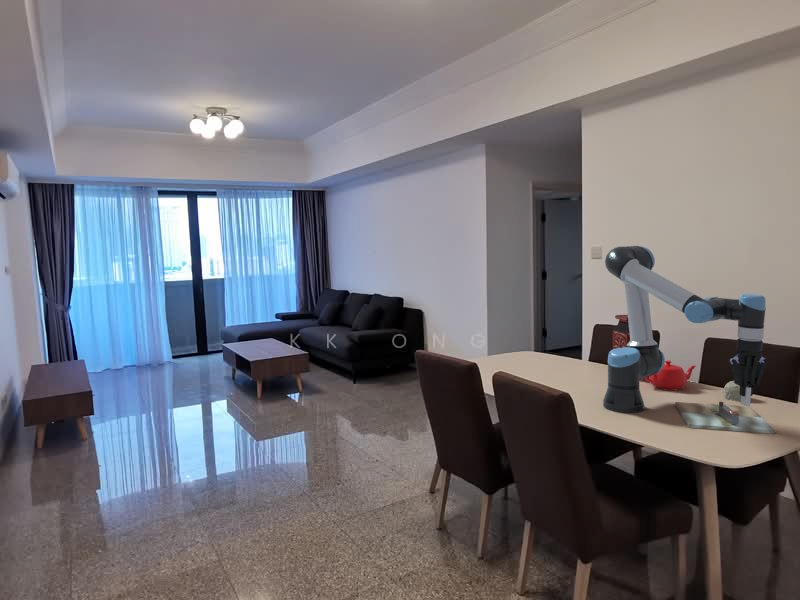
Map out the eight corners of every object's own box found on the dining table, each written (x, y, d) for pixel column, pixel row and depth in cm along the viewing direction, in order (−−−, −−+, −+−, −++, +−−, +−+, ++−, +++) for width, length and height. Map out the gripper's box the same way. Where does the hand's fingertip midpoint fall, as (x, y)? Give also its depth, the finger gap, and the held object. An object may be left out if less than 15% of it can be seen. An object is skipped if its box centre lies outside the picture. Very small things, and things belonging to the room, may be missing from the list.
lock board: (688, 427, 185) (689, 410, 185) (675, 404, 212) (675, 390, 211) (775, 433, 177) (775, 416, 176) (750, 409, 203) (750, 394, 203)
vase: (611, 372, 268) (612, 314, 265) (637, 371, 269) (637, 313, 267) (626, 379, 254) (627, 318, 251) (653, 377, 256) (654, 316, 253)
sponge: (744, 411, 214) (760, 391, 212) (723, 397, 215) (739, 378, 213) (734, 404, 223) (750, 385, 221) (714, 391, 224) (730, 372, 222)
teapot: (651, 392, 230) (652, 365, 229) (634, 384, 246) (634, 358, 244) (706, 390, 231) (707, 363, 230) (685, 381, 247) (686, 356, 246)
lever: (726, 414, 193) (726, 403, 192) (739, 424, 182) (740, 413, 181) (718, 414, 193) (718, 403, 193) (730, 424, 182) (731, 412, 182)
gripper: (760, 336, 186) (756, 401, 189) (724, 337, 186) (720, 401, 189) (776, 340, 179) (771, 407, 181) (738, 341, 178) (733, 408, 181)
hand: (745, 404), depth 185 cm, fingers closed
